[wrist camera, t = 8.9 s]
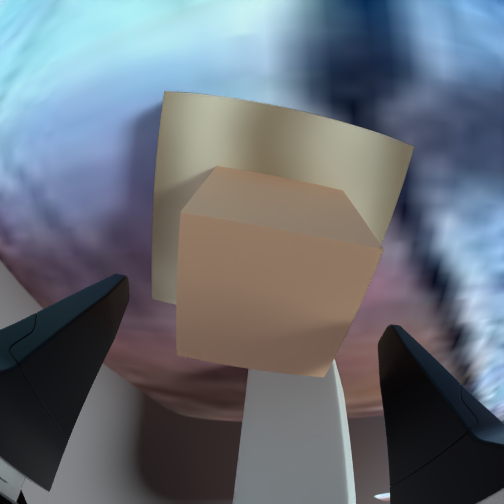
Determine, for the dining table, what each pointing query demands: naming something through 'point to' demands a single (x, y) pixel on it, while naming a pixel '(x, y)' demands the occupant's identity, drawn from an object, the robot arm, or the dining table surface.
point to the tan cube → (270, 272)
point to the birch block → (264, 163)
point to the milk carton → (294, 441)
